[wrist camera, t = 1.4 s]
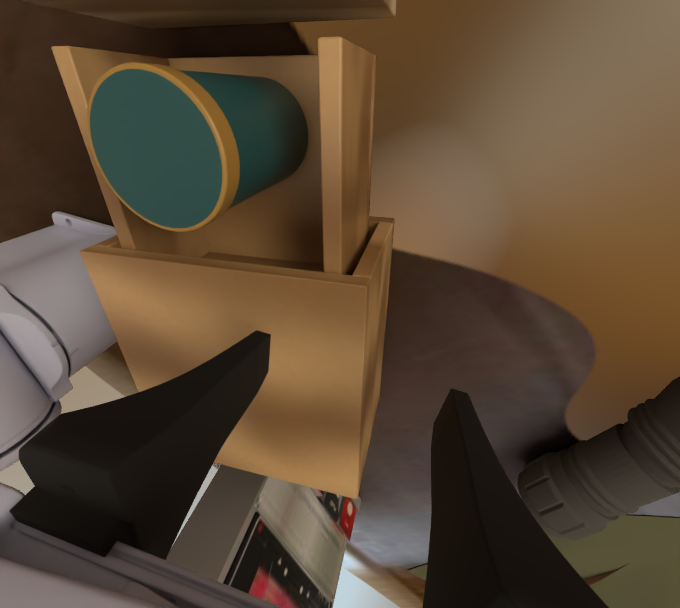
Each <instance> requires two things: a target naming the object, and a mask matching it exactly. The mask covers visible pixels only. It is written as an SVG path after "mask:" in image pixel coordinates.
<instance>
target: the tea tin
mask: <svg viewBox="0 0 680 608" xmlns="http://www.w3.org/2000/svg"><path fill="white" fill-rule="evenodd" d="M87 129H88V136H89V141H90V145H91V149H92V152H93V155H94V158H95V160H96V163H97V165H98V167H99V169H100V171H101V173H102V175H103V177H104V178H105V180H106V182H107V183H108V185H109V186H110V188H111V189H112V190H113V192H114V193H115V194H116V195H117V197H118V198H119V199H120V200H121V201H122V202H123V203H124V204H125V205H126V206H127V207H128V208H129V209H130V210H131V211H132V212H134V213H135V214H136V215H137V216H139V217H140V218H142V219H143V220H145V221H147V222H148V223H150V224H152V225H154V226H157V227H159V228H162V229H165V230H170V231H176V232H187V231H193V230H197V229H200V228H202V227H203V226H205V225H207V224H209V223H211V222H213V221H214V220H216V219H218V218H219V217H220V216H222V215H223V214H224V213H225V212H226V211H227V210H228V209H230V208H232V207H234V206H236V205H238V204H240V203H241V202H243V201H245V200H247V199H249V198H251V197H252V196H254V195H256V194H258V193H260V192H262V191H264V190H265V189H267V188H269V187H271V186H273V185H275V184H276V183H278V182H280V181H282V180H284V179H286V178H287V177H289V176H291V175H292V174H293V173H294V172H295V171H296V170H297V169H298V168H299V166H300V165H301V163H302V161H303V159H304V157H305V154H306V150H307V145H308V128H307V123H306V119H305V116H304V113H303V111H302V108H301V106H300V104H299V103H298V101H297V100H296V98H295V97H294V96H293V94H292V93H291V92H290V91H289V90H288V89H287V88H286V87H284V86H283V85H282V84H280V83H278V82H277V81H275V80H272V79H270V78H266V77H257V76H245V75H233V74H221V73H209V72H197V71H185V70H176V69H174V68H172V67H169V66H164V65H160V64H150V63H139V62H130V63H123V64H120V65H117V66H115V67H113V68H111V69H110V70H108V71H107V72H105V73H104V74H103V75H102V76H101V77H100V78H99V80H98V81H97V83H96V84H95V86H94V88H93V90H92V92H91V95H90V98H89V102H88V109H87Z"/></svg>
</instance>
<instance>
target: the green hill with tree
mask: <svg viewBox="0 0 680 608" xmlns="http://www.w3.org/2000/svg"><path fill="white" fill-rule="evenodd" d="M542 529H543V528H542ZM543 530H544V529H543ZM544 531H545V530H544ZM545 533H546V534H547V535H548V537H549V538H550V539H551V541H552V542H553V543H554V545H555V546H556V547H557V548H558V550H559V551H560V552H561V553H562V555H563V556H564V557H565V558H566V559H567V561H568V562H569V563H570V564H571V565H572V567H573V568H574V569H575V570H576V572H577V573H578V574H579V575H580V576H581V577H582V578H583V579H584V581H585V582H586V583H587V584H588V585H589V586H590V587H591V588H592V589H593V591H594V592H595V593H596V594H597V595H598V596H599V597H600V598H601V599H602V600H603V602H604V603H605V604H606V605H607V606H608V607H609V608H680V518H669V517H652V516H631V515H626V516H619V518H618V519H616V520H614V521H611V522H608V523H607V526H606V528H605V529H604V530H602V531H600V532H599V533H596V534H593V535H590V536H587V537H584V538H581V539H579V540H571V539H568V538H564V539H560V538H556V537H554V536H552V535H550V534H549V533H547V532H546V531H545ZM427 565H428V564H426V565H423V566H420V567H417V568H414V569H411V570H408V571H410V572H411V573H413V574H414V575H416V576H418V577H419V578H421V579H423V580H424V581H426V575H427Z"/></svg>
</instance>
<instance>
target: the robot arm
mask: <svg viewBox="0 0 680 608" xmlns="http://www.w3.org/2000/svg"><path fill="white" fill-rule="evenodd" d="M52 218H53V222H54V225H53V226H50V227H47V228H44V229H41V230H38V231H35V232H32V233H29V234H26V235H23V236H20V237H17V238H14V239H11V240H8V241H6V242H3V243H0V471H2V470H4V469H6V468H7V467H9V466H11V465H12V464H14V463H16V462H17V461H19V460H20V462H21V464H22V466H23V467H24V469H25V470H26V472H27V474H28V476H29V477H30V479H31V480H32V482H33V483H34V485H35V487H34V488H33V489H32V490H30V491H29V492H28V493H27V494H26V495H24V494H23V493H22V492H20V491H19V490H17V489H15V488H13V487H10V486H8V485H5V484H3V483H0V608H175V606H177V607H179V608H282V607H280V606H277V605H275V604H273V603H270V602H268V601H265V600H263V599H260V598H258V597H255V596H253V595H250V594H248V593H245V592H243V591H240V590H238V589H235V588H233V587H230V586H228V585H225V584H223V583H220V582H218V581H216V580H213V579H211V578H208V577H206V576H203V575H201V574H198V573H196V572H193V571H191V570H188V569H186V568H183V567H181V566H178V565H176V564H173V563H171V562H168V561H166V558H167V556H168V554H169V551H170V549H171V547H172V545H173V543H174V541H175V538H176V536H177V534H178V532H179V530H180V528H181V526H182V523H183V521H184V519H185V517H186V515H187V513H188V511H189V509H190V507H191V505H192V503H193V501H194V499H195V497H196V495H197V493H198V491H199V489H200V487H201V485H202V483H203V481H204V480H205V478H206V475H207V474H208V472H209V470H210V468H211V466H212V464H213V462H214V461H215V459H216V457H217V455H218V453H219V451H220V450H221V448H222V446H223V445H224V443H225V441H226V440H227V438H228V437H229V435H230V434H231V432H232V431H233V429H234V428H235V426H236V425H237V423H238V422H239V420H240V419H241V417H242V416H243V414H244V413H245V411H246V410H247V408H248V407H249V405H250V404H251V402H252V401H253V399H254V398H255V396H256V395H257V393H258V391H259V389H260V388H261V386H262V384H263V382H264V380H265V378H266V376H267V373H268V371H269V357H270V341H271V334H268V333H264V332H261V331H258V330H256V331H254V332H253V333H251V334H250V335H248V336H247V337H245V338H244V339H242V340H241V341H239V342H237V343H236V344H234V345H233V346H231V347H230V348H228V349H226V350H225V351H223V352H222V353H220V354H218V355H217V356H215V357H213V358H212V359H210V360H208V361H206V362H205V363H203V364H201V365H199V366H197V367H195V368H194V369H192V370H190V371H188V372H186V373H184V374H182V375H180V376H178V377H176V378H173V379H171V380H169V381H167V382H164V383H162V384H159V385H157V386H154V387H152V388H149V389H146V390H144V391H141V392H138V393H136V394H133V395H130V396H127V397H124V398H121V399H117V400H114V401H111V402H108V403H104V404H100V405H97V406H93V407H89V408H84V409H80V410H76V411H72V412H68V413H63V414H61V404H60V401H59V399H60V398H61V397H63V396H64V395H65V394H66V393H68V392H69V391H70V390H71V389H73V386H72V385H71V383H70V381H69V377H71V376H72V375H73V374H75V373H76V372H77V371H79V370H80V369H81V368H82V367H84V366H85V365H87V364H88V363H89V362H91V361H92V360H93V359H94V358H96V357H97V356H98V355H100V354H101V353H102V352H104V351H105V350H106V349H108V348H109V347H110V346H112V345H113V344H114V343H116V342H117V339H116V337H115V335H114V332H113V330H112V328H111V325H110V323H109V320H108V318H107V316H106V313H105V311H104V309H103V306H102V304H101V302H100V299H99V297H98V295H97V292H96V290H95V287H94V285H93V283H92V280H91V278H90V276H89V273H88V271H87V269H86V266H85V264H84V262H83V259H82V257H81V254H80V251H81V250H83V249H85V248H88V247H90V246H92V245H95V244H97V243H100V242H102V241H104V240H107V239H109V238H111V237H113V236H116V235H117V233H116V230H115V227H113V226H109V225H106V224H102V223H99V222H95V221H92V220H88V219H85V218H81V217H78V216H74V215H71V214H67V213H64V212H60V211H57V212H54V213H53V214H52ZM431 497H432V514H431V532H430V543H429V555H428V565H427V575H426V584H425V593H424V601H423V608H609V607H608V606H607V605H606V604H605V603H604V602H603V600H602V599H601V598H600V597H599V596H598V595H597V594H596V593H595V592H594V591H593V589H592V588H591V587H590V586H589V585H588V584H587V583H586V582H585V581H584V579H583V578H582V577H581V576H580V575H579V574H578V573H577V572H576V570H575V569H574V568H573V567H572V565H571V564H570V563H569V562H568V561H567V559H566V558H565V557H564V556H563V555H562V553H561V552H560V551H559V550H558V548H557V547H556V546H555V545H554V543H553V542H552V541H551V539H550V538H549V537H548V535H547V534H546V533H545V531H544V530H543V529H542V527H541V526H540V525H539V523H538V522H537V521H536V519H535V518H534V517H533V515H532V514H531V512H530V511H529V509H528V508H527V507H526V505H525V504H524V502H523V501H522V499H521V497H520V496H519V494H518V493H517V491H516V490H515V488H514V486H513V485H512V483H511V481H510V480H509V478H508V476H507V475H506V473H505V471H504V469H503V467H502V466H501V464H500V462H499V460H498V458H497V456H496V454H495V452H494V450H493V448H492V446H491V444H490V442H489V440H488V438H487V436H486V434H485V432H484V430H483V428H482V425H481V423H480V421H479V419H478V416H477V414H476V412H475V409H474V407H473V404H472V402H471V400H470V397H469V395H468V393H464V392H461V391H458V390H454V389H451V390H450V392H449V394H448V396H447V398H446V400H445V402H444V404H443V406H442V408H441V410H440V412H439V414H438V416H437V418H436V420H435V422H434V427H433V435H432V445H431Z"/></svg>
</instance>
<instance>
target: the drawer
mask: <svg viewBox="0 0 680 608" xmlns="http://www.w3.org/2000/svg"><path fill="white" fill-rule="evenodd" d="M20 1H25V2H30V3H34V4H39V5H43V6H48V7H53V8H57V9H62V10H67V11H71V12H76V13H81V14H85V15H90V16H94V17H99V18H104V19H108V20H113V21H118V22H122V23H127V24H132V25H136V26H141V27H145V28H150V29H153V28H175V27H197V26H219V25H241V24H263V23H285V22H307V21H328V20H348V19H349V20H350V19H371V18H372V19H373V18H394V17H395V15H396V2H397V0H20ZM317 43H318V45H317V46H318V55H278V56H236V57H194V58H163V57H155V56H147V55H139V54H130V53H122V52H114V51H106V50H98V49H90V48H81V47H73V46H53V47H52V51H53V54H54V57H55V60H56V63H57V65H58V68H59V71H60V74H61V77H62V80H63V82H64V85H65V88H66V91H67V94H68V97H69V99H70V102H71V105H72V108H73V111H74V114H75V116H76V119H77V122H78V125H79V128H80V131H81V133H82V136H83V139H84V142H85V145H86V148H87V150H88V153H89V156H90V159H91V162H92V165H93V168H94V170H95V173H96V176H97V179H98V182H99V185H100V187H101V190H102V193H103V196H104V199H105V202H106V204H107V207H108V210H109V213H110V216H111V219H112V221H113V224H114V227H115V230H116V233H117V236H118V238H119V241H120V244H121V247H122V249H129V250H138V251H146V252H155V253H163V254H172V255H180V256H189V257H197V258H206V259H215V260H223V261H232V262H240V263H249V264H257V265H266V266H274V267H283V268H291V269H300V270H309V271H317V272H326V273H334V274H343V275H351V276H352V275H353V273H354V271H355V269H356V267H357V265H358V263H359V261H360V259H361V257H362V255H363V253H364V251H365V249H366V247H367V245H368V229H369V205H370V185H371V163H372V161H371V160H372V141H373V140H372V139H373V119H374V97H375V74H376V55H374V54H373V53H370V52H369V51H367V50H365V49H363V48H361V47H359V46H357V45H355V44H354V43H352V42H349V41H348V40H346V39H344V38H342V37H340V36H334V37H320V38H318V40H317ZM130 62H139V63H150V64H160V65H164V66H169V67H172V68H174V69H176V70H185V71H197V72H209V73H221V74H233V75H245V76H257V77H266V78H270V79H272V80H275V81H277V82H278V83H280V84H282V85H283V86H284V87H286V88H287V89H288V90H289V91H290V92H291V93H292V94H293V96H294V97H295V98H296V100H297V101H298V103H299V104H300V106H301V108H302V111H303V113H304V116H305V119H306V123H307V128H308V145H307V150H306V154H305V157H304V159H303V161H302V163H301V165H300V166H299V168H298V169H297V170H296V171H295V172H294V173H293V174H292V175H291V176H289V177H287V178H286V179H284V180H282V181H280V182H278V183H276V184H275V185H273V186H271V187H269V188H267V189H265V190H264V191H262V192H260V193H258V194H256V195H254V196H252V197H251V198H249V199H247V200H245V201H243V202H241V203H240V204H238V205H236V206H234V207H232V208H230V209H228V210H227V211H226V212H225V213H224V214H223V215H222V216H220V217H219V218H218V219H216V220H214V221H213V222H211V223H209V224H207V225H205V226H203V227H202V228H200V229H197V230H193V231H187V232H176V231H170V230H165V229H162V228H159V227H157V226H154V225H152V224H150V223H148V222H147V221H145V220H143V219H142V218H140V217H139V216H137V215H136V214H135V213H134V212H132V211H131V210H130V209H129V208H128V207H127V206H126V205H125V204H124V203H123V202H122V201H121V200H120V199H119V198H118V197H117V195H116V194H115V193H114V192H113V190H112V189H111V188H110V186H109V185H108V183H107V182H106V180H105V178H104V177H103V175H102V173H101V171H100V169H99V167H98V165H97V163H96V160H95V158H94V155H93V152H92V149H91V145H90V141H89V136H88V129H87V109H88V102H89V98H90V95H91V92H92V90H93V88H94V86H95V84H96V83H97V81H98V80H99V78H100V77H101V76H102V75H103V74H104V73H105V72H107V71H108V70H110V69H111V68H113V67H115V66H117V65H120V64H123V63H130Z"/></svg>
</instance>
